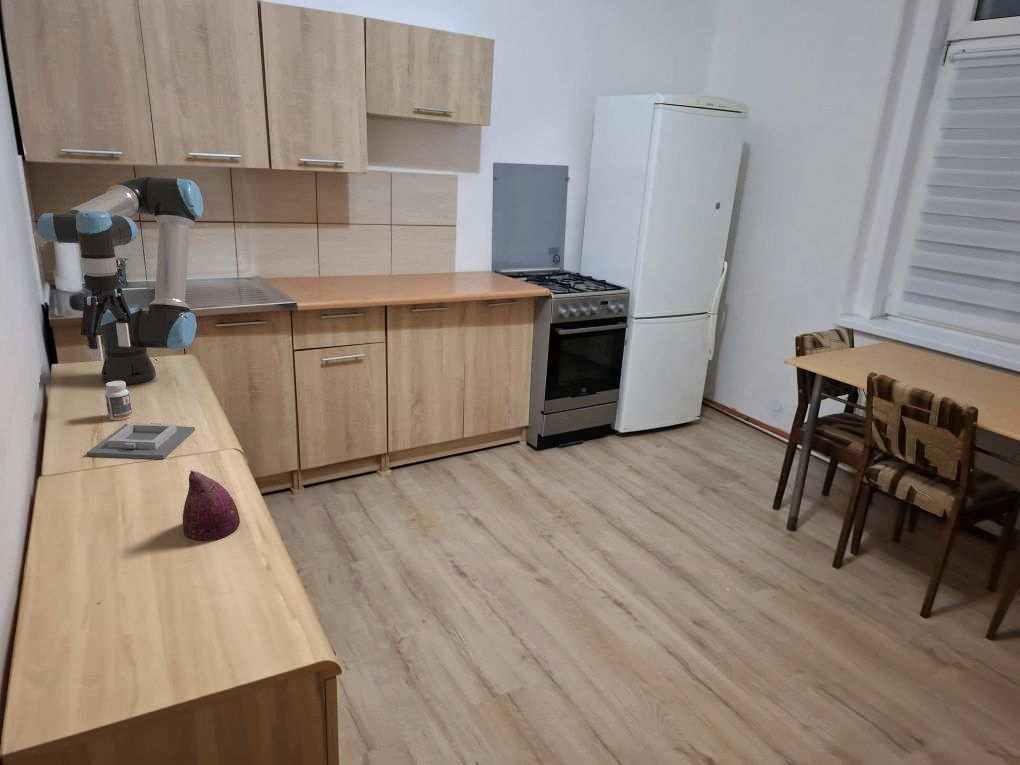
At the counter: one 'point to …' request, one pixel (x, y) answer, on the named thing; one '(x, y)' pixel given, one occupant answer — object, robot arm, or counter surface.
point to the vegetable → (208, 510)
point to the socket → (142, 441)
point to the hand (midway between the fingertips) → (111, 353)
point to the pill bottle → (118, 401)
